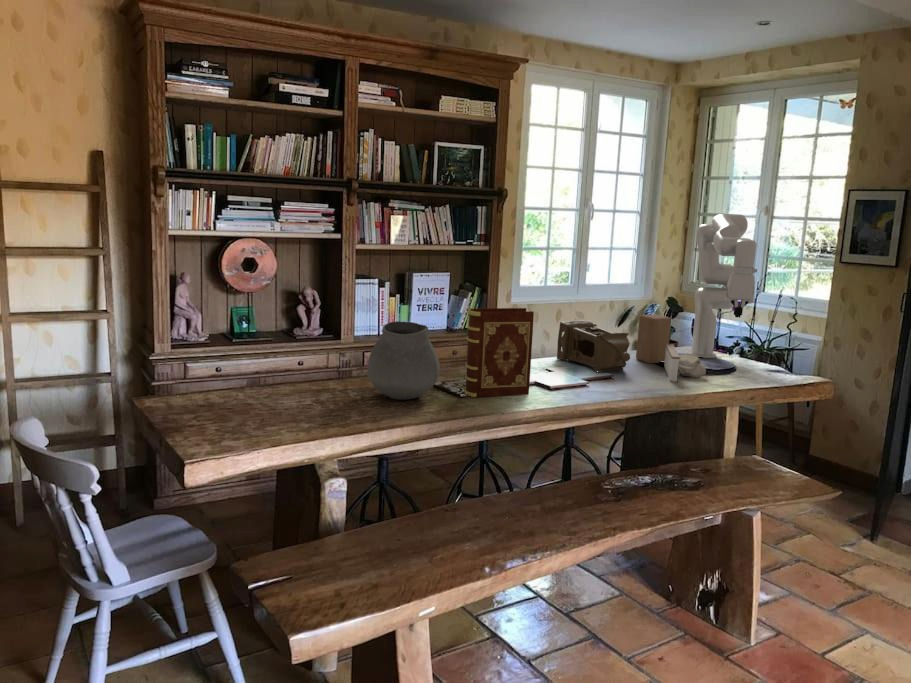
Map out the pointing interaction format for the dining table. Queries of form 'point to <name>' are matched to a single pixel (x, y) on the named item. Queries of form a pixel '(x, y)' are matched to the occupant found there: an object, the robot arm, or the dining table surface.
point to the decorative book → (499, 351)
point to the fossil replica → (691, 366)
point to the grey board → (671, 362)
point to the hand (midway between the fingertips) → (737, 316)
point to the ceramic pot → (403, 361)
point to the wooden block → (653, 338)
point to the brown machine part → (592, 345)
